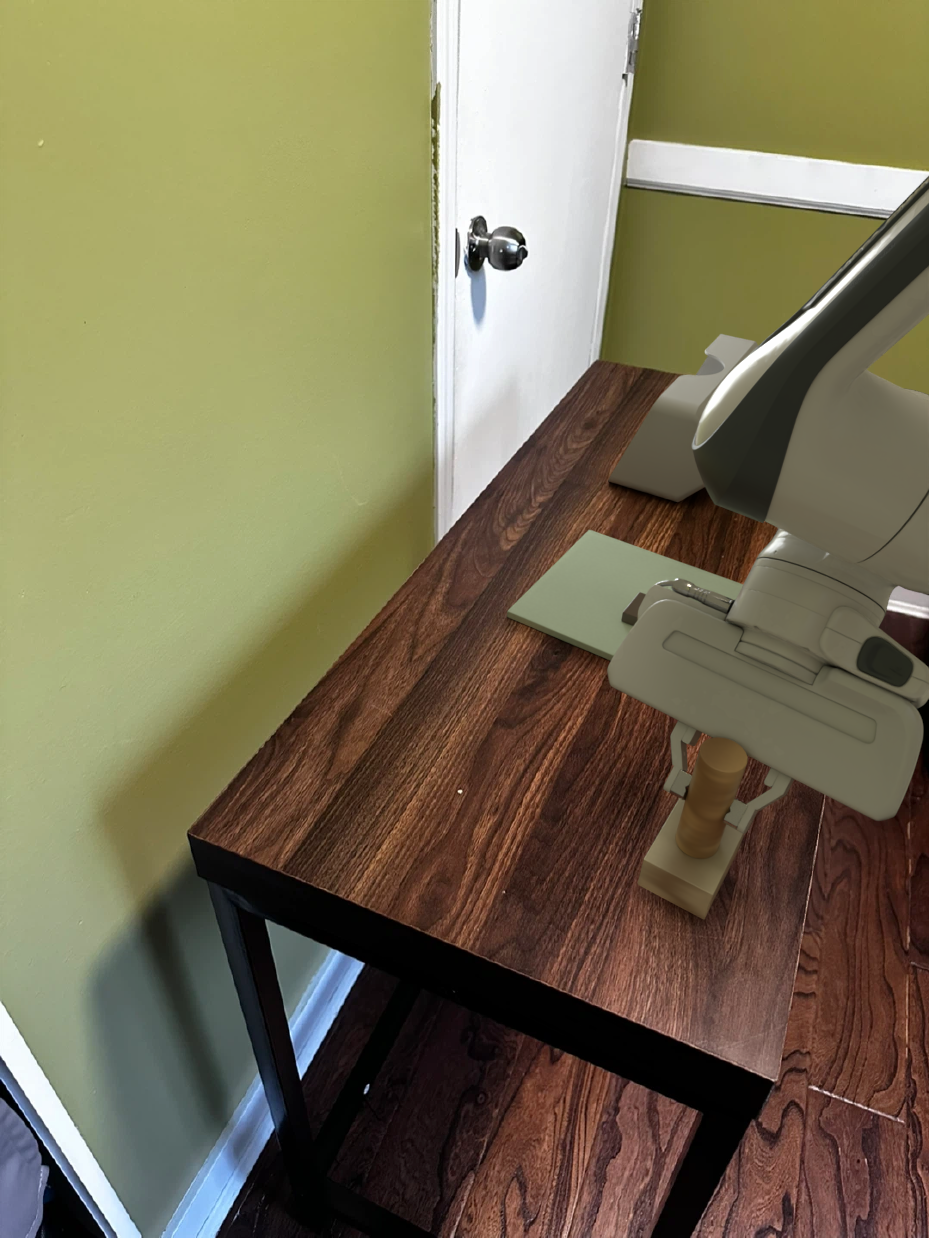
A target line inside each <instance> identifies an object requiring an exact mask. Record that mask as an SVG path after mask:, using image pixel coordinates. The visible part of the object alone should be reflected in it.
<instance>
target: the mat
mask: <svg viewBox="0 0 929 1238" xmlns="http://www.w3.org/2000/svg"><path fill="white" fill-rule="evenodd" d="M677 578H680V579H684V580H687V581H690V582H692V583H693V584H695V585H696V586H698V587H700V588H703V589H706V590H710V591H713V592H716V593H718V594H721V595H723V596H726V597H729V598H731V599H733V600H736V598H737V596H738V594H739V592H740V590H741V588H742V586H743V584H744V583H740V582H737V581H734V580H732V579H729V578H727V577H723V576H721V575H718V574H715V573H712V572H710V571H706V570H704V569H701V568H698V567H696V566H693V565H690V564H688V563H684V562H681V561H679V560H676V559H673V558H671V557H667V556H665V555H662V554H659V553H657V552H654V551H651V550H648V549H645V548H643V547H639V546H638V545H637V546H636V545H634V544H631V543H628V542H626V541H623V540H620V539H617V538H614V537H611V536H609V535H605V534H604V533H600V532H597V531H595V530H592V529H587V531H586V532H585V533H584V534H583V535H582V536H581V537H580V538H579V539H578V540H577V541H576V542H575V543H574V544H573V545H572V546H571V547H570V548H569V549H567V551H566V552H565V553H564V554H563V555H562V556H561V557H560V558H559V559H558V560H557V561H556V562H555V563H553V565H552V566H551V567H549V569H548V570H546V572H545V573H543V575H541V577H540V578H539V579H538V580H536V582H535V583H534V584H532V586H530V588H529V589H528V590H527V591H526V592H524V594H523V595H522V596H520V598H518V600H516V602H515V603H514V604H513V605H512V606H511V607H510V608H509V609H508V610H507V611H506V617H507V618H509V619H511V620H514V621H516V622H518V623H520V624H523V625H525V626H528V627H530V628H532V629H535V630H537V631H539V632H541V633H544V634H546V635H549V636H551V637H553V638H556V639H558V640H561V641H563V642H565V643H568V644H570V645H572V646H574V647H577V648H579V649H582V650H584V651H587V652H589V653H591V654H593V655H596V656H597V657H598V656H599V657H601V658H604V659H606V660H608V661H610V662H611V660H612V658H613V656H614V655H615V653H616V651H617V650H618V648H619V646H620V645H621V643H622V642H623V640H624V639H625V637H626V636H627V634H628V633H629V631H630V630H631V629H632V627H633V626H632V625H630V624H627V623H625V622H622V621H621V619H622V613H623V611H624V610H625V609H626V608H627V606H628V605H629V604H630V603H631V602H632V600H633V599H634V598H635V597H636V596H637V594H638V593H639V592H641V593H644V594H646V593H647V592H648V590H649V589H650V588H651V587H652V586H653V585H655V584H657V583H659V582H662V581H667V580H670V581H674V580H675V579H677ZM664 588H667V589H669V590H671V591H673V590H672V586H664ZM690 599H691V598H690ZM692 600H694V599H692ZM695 601H696V600H695ZM697 602H698V601H697ZM699 603H700V602H699Z"/></svg>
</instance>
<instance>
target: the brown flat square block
mask: <svg viewBox="0 0 929 1238" xmlns="http://www.w3.org/2000/svg"><path fill="white" fill-rule="evenodd" d="M645 595H646V594H644V593H641V592H639V593H638V594H637V596H636V597H635V598H634V599H633V600H632V602H631V603H630V604H629V605H628V606H627V608H626V609H625V610H624V611H623V613H622V619H621V621H622V622H625V623H627V624H630V625H632V626H634V625H635V623H636V622H637V614H638V610H639V607H640V605H641V603H642V601H643V599H644V597H645Z"/></svg>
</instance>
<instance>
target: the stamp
mask: <svg viewBox="0 0 929 1238" xmlns="http://www.w3.org/2000/svg"><path fill="white" fill-rule="evenodd" d="M695 760H696V761H695V764H694V767H693V771H692V773H691V774H692V778H691V781H690V785H689V788H688V792H687V795H686V799H685V800H682V799H680V798H678V800H677V802H676V804H675V805H674V806H673V809H672V810H671V812H670V813H669V815H668V816H667V819H666V820H665V822H664V824H663V825H662V827H661V829H660V830H659V832H658V834H657V835H656V837H655V839H654V841H653V842H652V844H651V846H650V847H649V849H648V851H647V853H646V854H645V856H644V858H643V859H642V863H641V868H640V872H639V876H638V879H637V885H638V886H639V887H641V888H643V889H645V890H647V891H649V892H650V893H652V894H655V895H656V896H658V897H660V898H662V899H664V900H665V901H667V902H670V903H672V904H673V905H675V906H677V907H679V908H681V909H682V910H685V911H687V912H688V913H690V914H692V915H694V916H696V917H698V918H700V919H702V920H705V919H706V917H707V915H708V913H709V911H710V909H711V907H712V905H713V903H714V901H715V899H716V897H717V896H718V893H719V891H720V889H721V887H722V885H723V883H724V881H725V879H726V877H727V875H728V873H729V870H730V868H731V866H732V865H733V863H734V860H735V858H736V856H737V854H738V852H739V850H740V847H741V845H742V842H743V839H744V837H745V834H743V833H741V832H739V831H737V830H735V829H734V828H732V827H730V826H729V825H727V824H725V823H723V820H724V818H725V816H726V814H727V813H729V812H730V806H731V804H732V803H733V801H734V799H737V795H738V792H739V789H740V786H741V782H742V780H743V777H744V775H745V774H744V773H745V771H746V768H747V765H748V761H749V759H748V756H747V754H746V752H745V750H744V749H743V748H742V747H741V746H740V745H739V744H738V743H736V742H734V741H732V740H730V739H727V738H721V737H715V738H712V737H710V738H708V739H706V740H704V741H703V742H702V743H701V744H700V746H699V749H698V753H697V756H696V759H695Z"/></svg>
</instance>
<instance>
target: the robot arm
mask: <svg viewBox="0 0 929 1238" xmlns="http://www.w3.org/2000/svg"><path fill="white" fill-rule="evenodd" d="M928 316H929V175H928V176H927V177H926V178H925V179H924V180H923V181H922V182H921V183H920V184H918V186H917V187H916V188H915V189H913V191H912V192H911V193H910V194H909V195H908V197H906V199H904V200H903V202H901V204H900V205H899V206H897V208H896V209H895V210H893V212H892V213H891V214H890V215H889V216H888V217H887V218H886V219H885V220H884V221H883V222H882V223H881V224H880V226H878V228H876V229H875V231H874V232H873V233H871V235H870V236H869V237H868V238H867V239H866V240H865V241H864V242H863V243H862V244H861V245H860V246H859V247H857V249H856V250H855V251H854V252H853V254H851V256H850V257H848V258H847V260H845V261H844V263H843V264H841V266H840V267H839V268H838V269H837V270H836V271H835V272H834V273H833V274H832V275H831V276H830V277H829V278H828V279H827V281H826V282H824V283H823V285H822V286H821V287H820V288H819V289H818V290H817V291H816V292H815V293H814V294H813V295H812V296H811V297H810V298H809V299H808V300H807V301H806V302H805V303H804V304H803V305H802V306H801V307H800V308H799V309H798V310H797V311H796V312H794V314H793V315H792V316H791V317H790V318H788V319H787V320H786V321H785V322H784V323H782V324H781V325H780V327H778V328H777V329H776V330H774V332H772V333H771V334H770V335H769V336H767V337H766V338H765V340H763V341H762V342H761V343H760V344H758V347H757V348H756V349H755V350H754V351H753V352H752V353H751V354H750V355H749V356H748V357H746V358H745V359H744V360H743V361H742V362H740V363H739V364H738V365H737V366H736V367H735V368H734V369H733V370H732V371H731V372H730V373H729V374H728V375H727V376H726V377H725V379H724V380H723V381H722V382H721V383H720V385H719V386H718V387H717V389H716V390H715V392H714V393H713V395H712V396H711V398H710V400H709V401H708V403H707V405H706V407H705V409H704V411H703V414H702V416H701V418H700V421H699V424H698V427H697V431H696V434H695V436H694V439H693V442H692V450H693V455H694V458H695V462H696V465H697V468H698V471H699V473H700V476H701V479H702V481H703V483H704V485H705V487H704V488H705V490H706V492H707V494H708V495H709V497H710V499H711V501H712V503H713V504H714V505H715V506H718V507H721V508H723V509H726V510H729V511H730V512H734V513H736V514H739V515H741V516H744V517H746V518H749V519H751V520H753V521H757V522H759V523H762V524H764V523H766V524H767V523H768V524H770V525H771V526H773V527H775V528H777V530H776V532H775V534H774V536H773V537H772V539H771V540H770V542H768V544H767V545H766V546H764V548H763V549H761V551H760V552H759V553H758V555H757V557H756V558H755V560H754V563H753V565H752V567H751V568H750V570H749V573H748V575H747V576H746V578H745V580H744V582H743V583H742V584H743V586H742V588H741V590H740V592H739V594H738V596H737V598H736V600H733V599H731V598H729V597H726V596H723V595H721V594H718V593H716V592H713V591H710V590H706V589H703V588H700V587H698V586H696V585H695V584H693V583H692V582H690V581H687V580H684V579H680V578H677V579H675V580H674V581H670V580H667V581H662V582H659V583H657V584H655V585H653V586H652V587H651V588H650V589H649V590H648V592H647V593H646V595H645V597H644V599H643V601H642V603H641V605H640V607H639V610H638V614H637V622H636V623H635V625H634V626H633V627H632V629H631V630H630V631H629V633H628V634H627V636H626V637H625V639H624V640H623V642H622V643H621V645H620V646H619V648H618V650H617V651H616V653H615V655H614V656H613V658H612V660H611V661H610V662H609V664H608V666H607V668H606V669H607V670H606V673H607V677H608V683H609V685H610V687H611V688H613V689H615V690H616V691H619V692H620V693H622V694H625V695H627V696H628V697H631V698H633V699H634V700H637V701H638V702H640V703H642V704H643V705H645V706H648V707H651V708H653V709H654V710H657V711H658V712H660V713H662V714H665V715H667V716H669V717H670V718H673V719H674V720H677V722H676V724H675V726H674V727H673V729H672V731H671V734H670V737H669V738H670V750H671V752H670V753H671V765H672V768H671V770H670V773H669V774H668V775H667V776H668V777H667V778H666V780H665V782H664V785H663V788H662V790H663V791H665V792H667V793H669V794H671V795H672V796H674V797H676V798H678V799H679V798H680V799H682V800H685V799H686V795H687V792H688V788H689V785H690V781H691V778H692V774H693V773H690V772H689V767H688V766H689V765H688V746H691V747H696V746H697V744H698V742H699V740H700V738H701V736H702V734H704V735H706V736H708V737H710V738H715V737H721V738H727V739H730V740H732V741H734V742H736V743H738V744H739V745H740V746H741V747H742V748H743V749H744V750H745V752H746V754H747V757H750V758H752V759H754V760H755V761H757V762H759V763H761V764H763V765H765V766H767V767H769V768H770V769H768V772H767V774H766V776H765V778H764V781H763V783H764V785H765V786H767V787H769V788H770V789H768V790H766V791H764V792H763V793H761V794H760V795H758V796H756V797H755V798H753V799H752V800H750V801H748V802H745V801H743V800H742V799H741V800H740V799H738V798H735V799H734V801H733V803H732V804H731V806H730V812H729V813H727V814H726V816H725V818H724V820H723V823H725V824H727V825H729V826H730V827H732V828H734V829H735V830H737V831H739V832H741V833H743V834H744V835H746V834H747V832H749V830H750V827H751V826H752V824H753V822H754V821H755V818H756V816H757V815H758V812H760V811H762V810H764V809H766V808H768V807H769V806H771V805H773V804H774V803H777V802H778V801H779V800H781V799H782V798H784V797H787V795H788V793H789V791H790V789H791V787H792V785H793V783H794V781H796V782H799V783H801V784H803V785H805V786H807V787H808V788H811V789H813V790H815V791H817V792H819V793H820V794H822V795H824V796H827V797H829V798H831V799H833V800H834V801H836V802H838V803H840V804H842V805H843V806H846V807H848V808H849V809H852V810H853V811H856V812H857V813H859V814H861V815H863V816H865V817H867V818H869V819H871V820H873V821H875V822H883V821H886V820H890V819H892V818H894V817H895V816H896V815H897V813H898V811H899V810H900V807H901V804H902V803H903V801H904V798H905V796H906V795H907V794H906V793H907V791H908V788H909V786H910V783H911V781H912V778H913V775H914V772H915V769H916V766H917V762H918V759H919V755H920V752H921V748H922V744H923V741H924V723H923V719H922V716H921V714H920V712H919V710H918V709H919V708H921V707H923V706H924V705H925V704H926V703H927V702H928V700H929V666H927V665H926V663H925V662H924V661H922V660H920V659H919V658H918V657H916V655H914V654H913V653H911V651H909V650H908V649H906V648H905V647H904V646H902V645H901V644H900V643H899V642H897V641H896V640H895V639H894V638H892V637H891V636H890V635H889V634H887V633H886V632H885V631H884V630H883V629H881V628H880V626H881V624H882V622H883V621H884V619H885V616H886V614H887V610H888V605H889V602H890V598H891V596H892V593H893V591H894V590H895V589H896V588H897V587H901V588H902V589H903V590H904V589H905V590H907V591H911V592H914V593H918V594H923V595H926V596H929V394H928V393H926V392H922V391H919V390H915V389H911V388H905V387H902V386H899V385H897V384H895V383H893V382H892V381H890V380H887V379H885V378H883V377H881V376H879V375H877V374H875V373H874V372H871V371H870V370H869V368H870V367H871V366H872V365H873V364H874V363H876V362H877V361H878V360H879V359H880V358H881V357H882V356H884V355H885V354H886V353H887V352H888V351H889V350H890V349H891V348H893V347H894V346H895V345H896V344H898V343H899V342H900V341H901V340H902V339H903V338H904V337H905V336H906V335H907V334H908V333H910V332H911V331H912V330H913V329H914V328H915V327H916V326H917V325H919V324H920V323H921V322H922V321H923V320H924V319H926V317H928ZM664 586H672V590H673V591H671V590H669V589H667V588H664ZM690 598H691V599H690ZM692 599H694V600H692ZM695 600H696V601H695ZM697 601H698V602H697ZM699 602H700V603H699Z"/></svg>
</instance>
